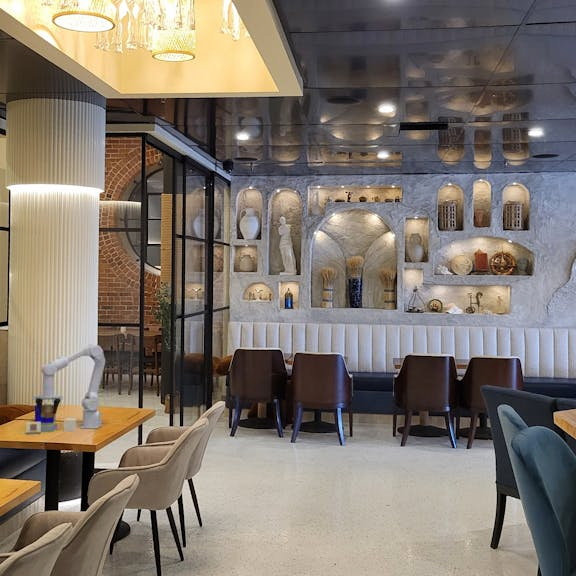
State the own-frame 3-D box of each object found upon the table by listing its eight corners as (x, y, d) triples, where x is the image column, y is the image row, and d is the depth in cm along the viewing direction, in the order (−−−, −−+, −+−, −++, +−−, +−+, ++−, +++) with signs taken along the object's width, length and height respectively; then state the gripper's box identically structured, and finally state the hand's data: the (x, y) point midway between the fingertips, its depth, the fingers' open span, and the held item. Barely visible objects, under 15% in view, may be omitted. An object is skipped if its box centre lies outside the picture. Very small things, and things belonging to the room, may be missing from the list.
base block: (56, 429, 390) (57, 423, 390) (51, 432, 381) (51, 426, 381) (40, 429, 390) (41, 422, 390) (35, 432, 381) (35, 425, 381)
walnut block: (54, 416, 385) (54, 405, 385) (47, 417, 381) (47, 406, 381) (48, 415, 388) (48, 404, 388) (41, 416, 384) (41, 405, 384)
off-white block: (76, 429, 389) (76, 418, 389) (72, 431, 384) (73, 419, 384) (67, 429, 389) (67, 418, 389) (63, 431, 385) (64, 419, 385)
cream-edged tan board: (40, 432, 380) (40, 421, 380) (40, 433, 376) (40, 422, 376) (26, 433, 377) (26, 421, 378) (25, 434, 374) (26, 422, 374)
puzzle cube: (34, 423, 406) (34, 405, 406) (37, 420, 416) (37, 402, 416) (53, 423, 408) (53, 404, 408) (55, 419, 418) (55, 402, 418)
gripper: (64, 386, 389) (64, 412, 389) (36, 386, 388) (36, 412, 388) (60, 388, 382) (60, 414, 382) (32, 387, 381) (31, 414, 381)
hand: (47, 413), depth 385 cm, fingers closed on walnut block, 7 cm apart
